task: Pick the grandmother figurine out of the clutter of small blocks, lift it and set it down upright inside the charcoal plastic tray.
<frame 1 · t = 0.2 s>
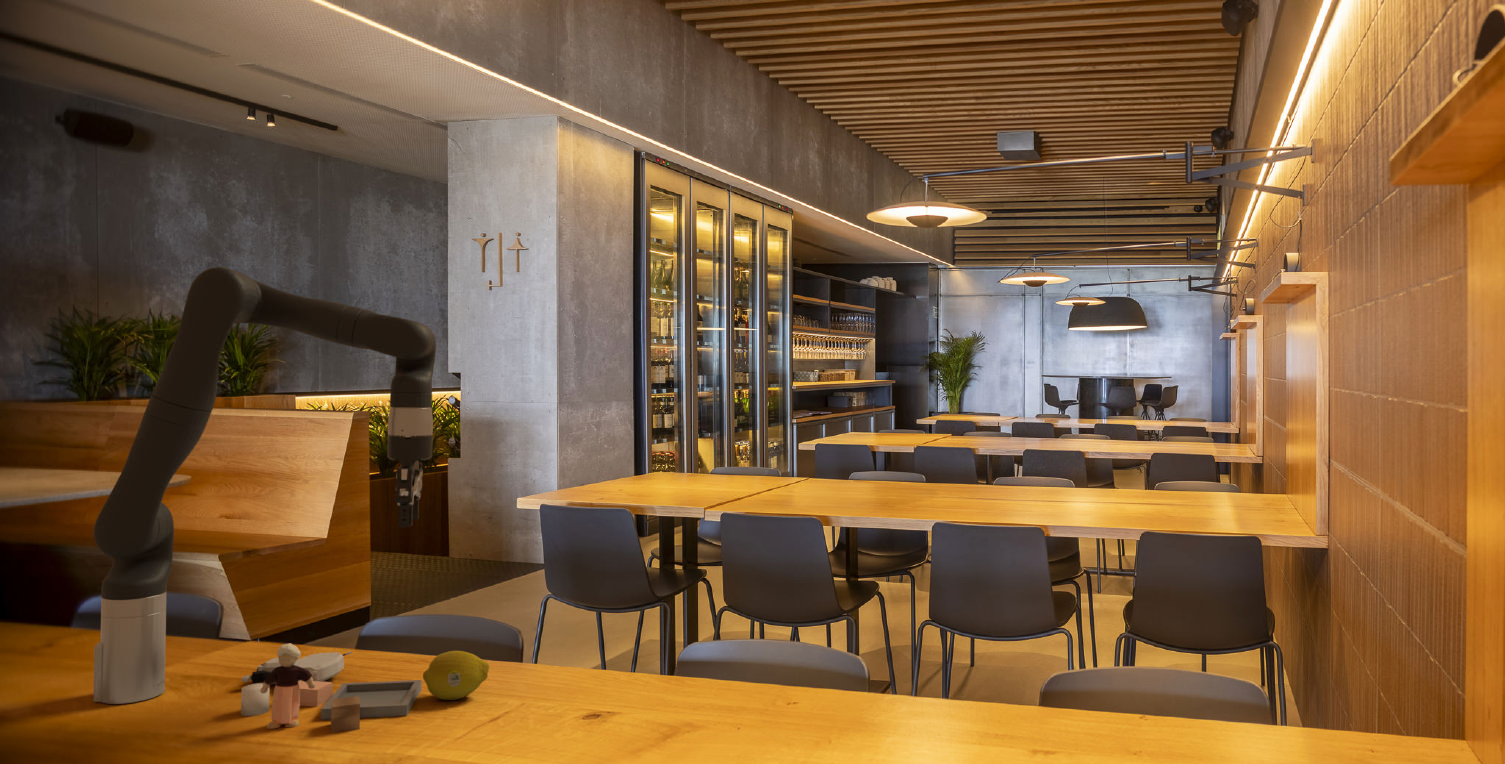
hand: (408, 523, 163), 29 cm above the table, tool pointing down, fingers open, 8 cm apart
lemon: (455, 699, 156), on the table
tray: (373, 704, 153), on the table
terracotta block: (308, 702, 154), on the table
grandmother figurine: (287, 726, 143), on the table
walnut cube: (345, 727, 142), on the table
white rounded cylinder block: (255, 712, 148), on the table
robot toy: (297, 684, 164), on the table
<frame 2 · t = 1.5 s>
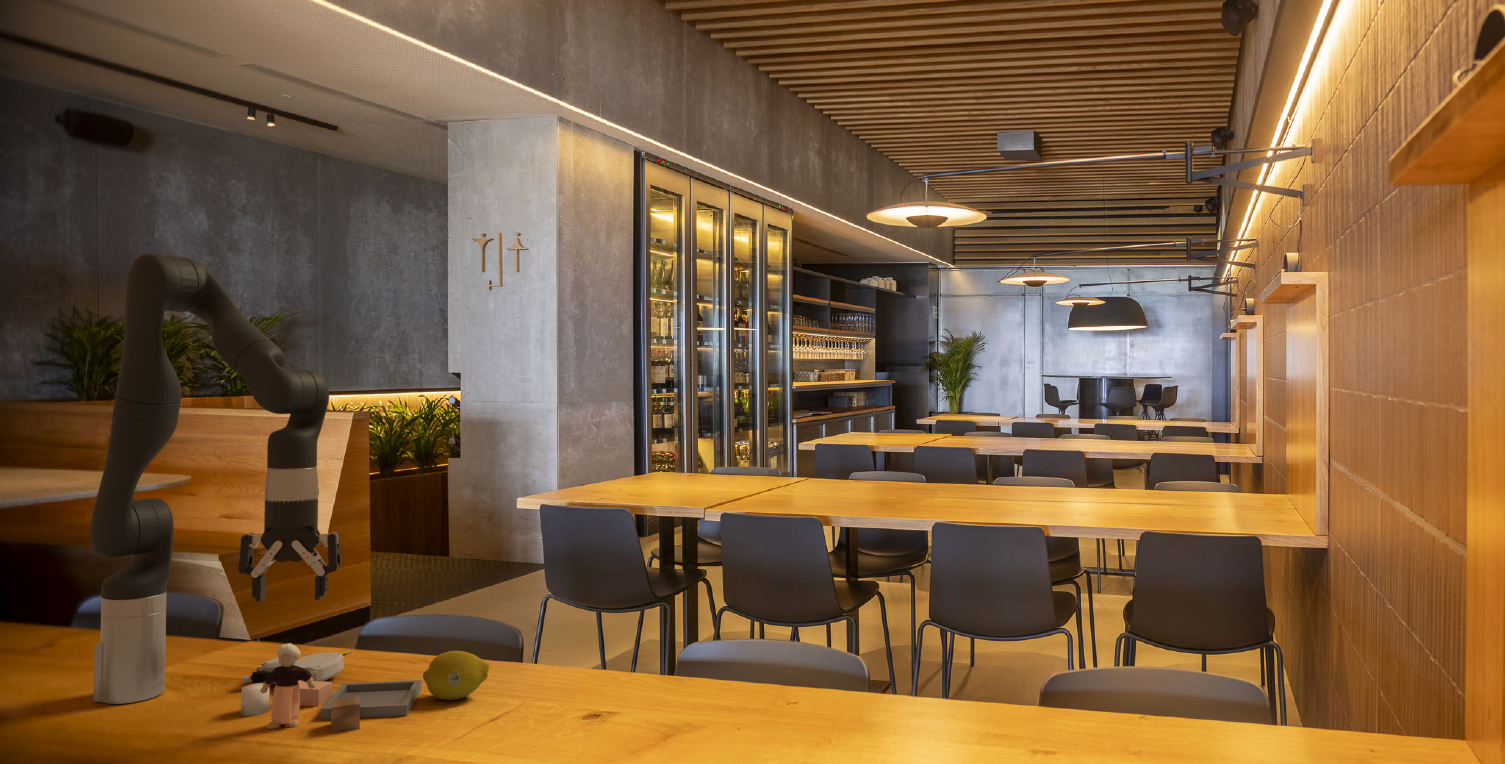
hand: (290, 599, 143), 19 cm above the table, tool pointing down, fingers open, 8 cm apart
nothing on the table moved.
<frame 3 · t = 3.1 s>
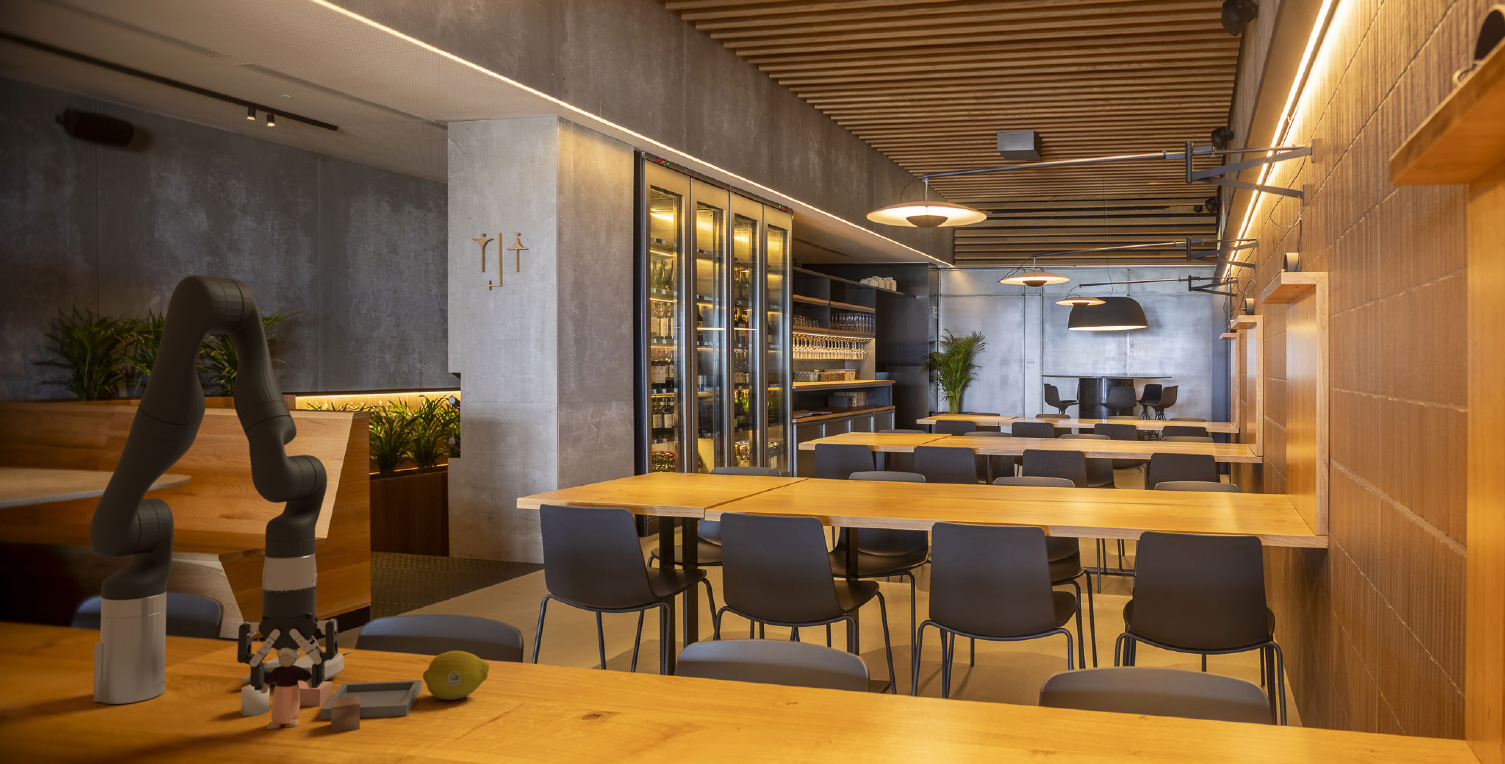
hand: (287, 687, 143), 6 cm above the table, tool pointing down, fingers closed on grandmother figurine, 8 cm apart
grandmother figurine: (287, 726, 143), on the table, touching gripper
everything else where it was.
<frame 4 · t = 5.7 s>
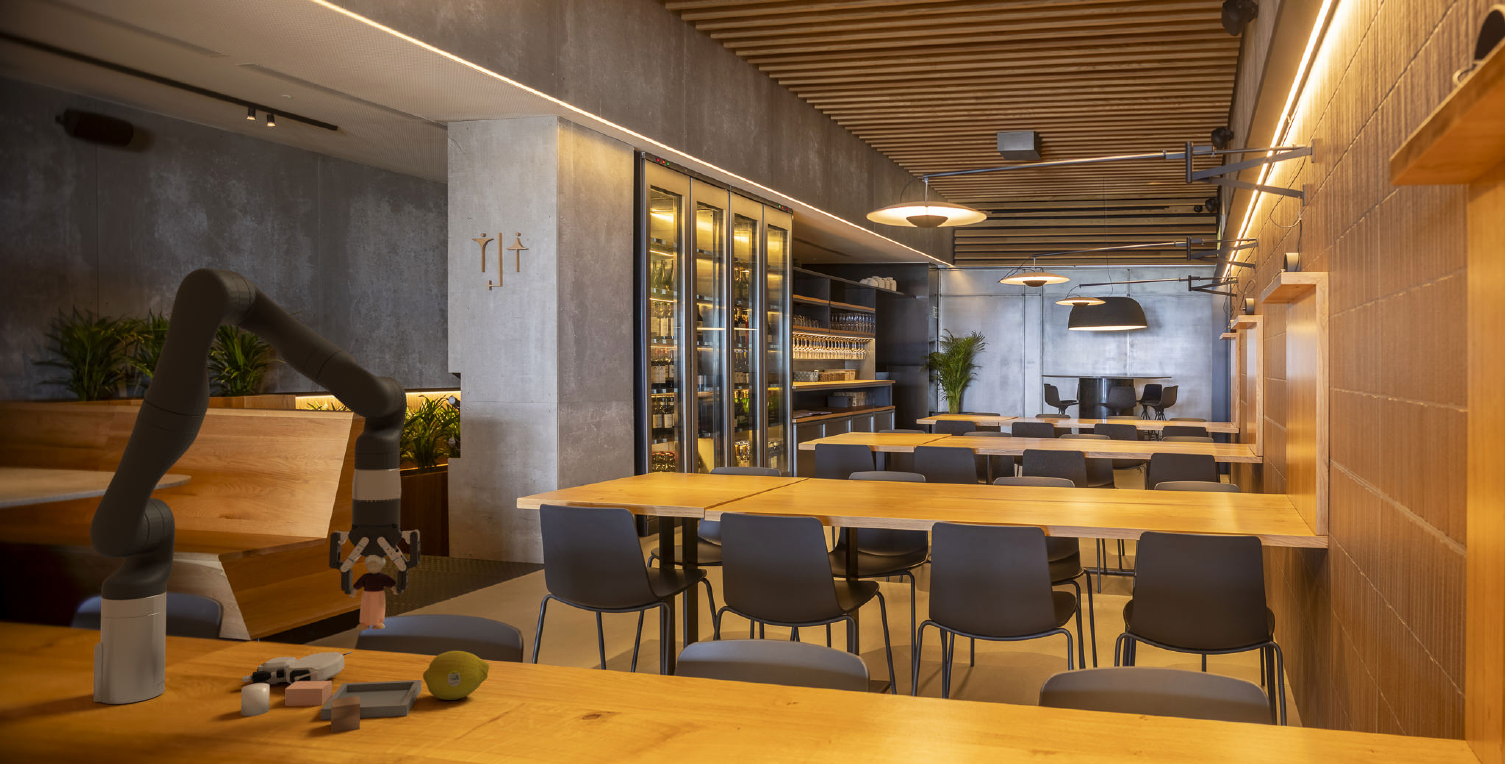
hand: (374, 593, 153), 19 cm above the table, tool pointing down, fingers closed on grandmother figurine, 8 cm apart
grandmother figurine: (374, 629, 153), point 13 cm above the table, touching gripper
everything else where it was.
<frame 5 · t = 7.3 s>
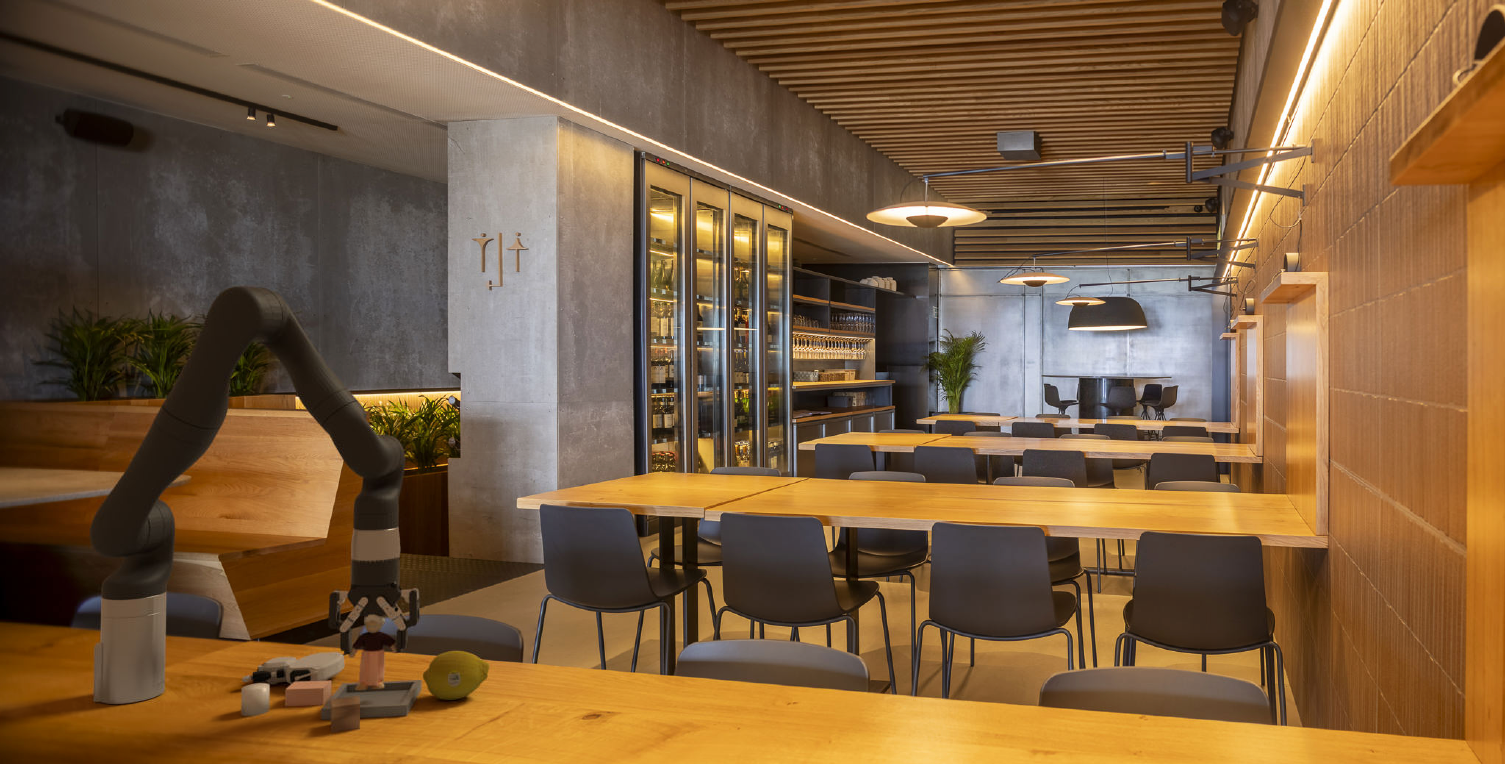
hand: (374, 652, 153), 9 cm above the table, tool pointing down, fingers closed on grandmother figurine, 8 cm apart
grandmother figurine: (373, 688, 153), point 3 cm above the table, touching gripper
everything else where it was.
when the fingers open (6 cm above the table, at t = 8.6 s): grandmother figurine stays where it is, resting on tray.
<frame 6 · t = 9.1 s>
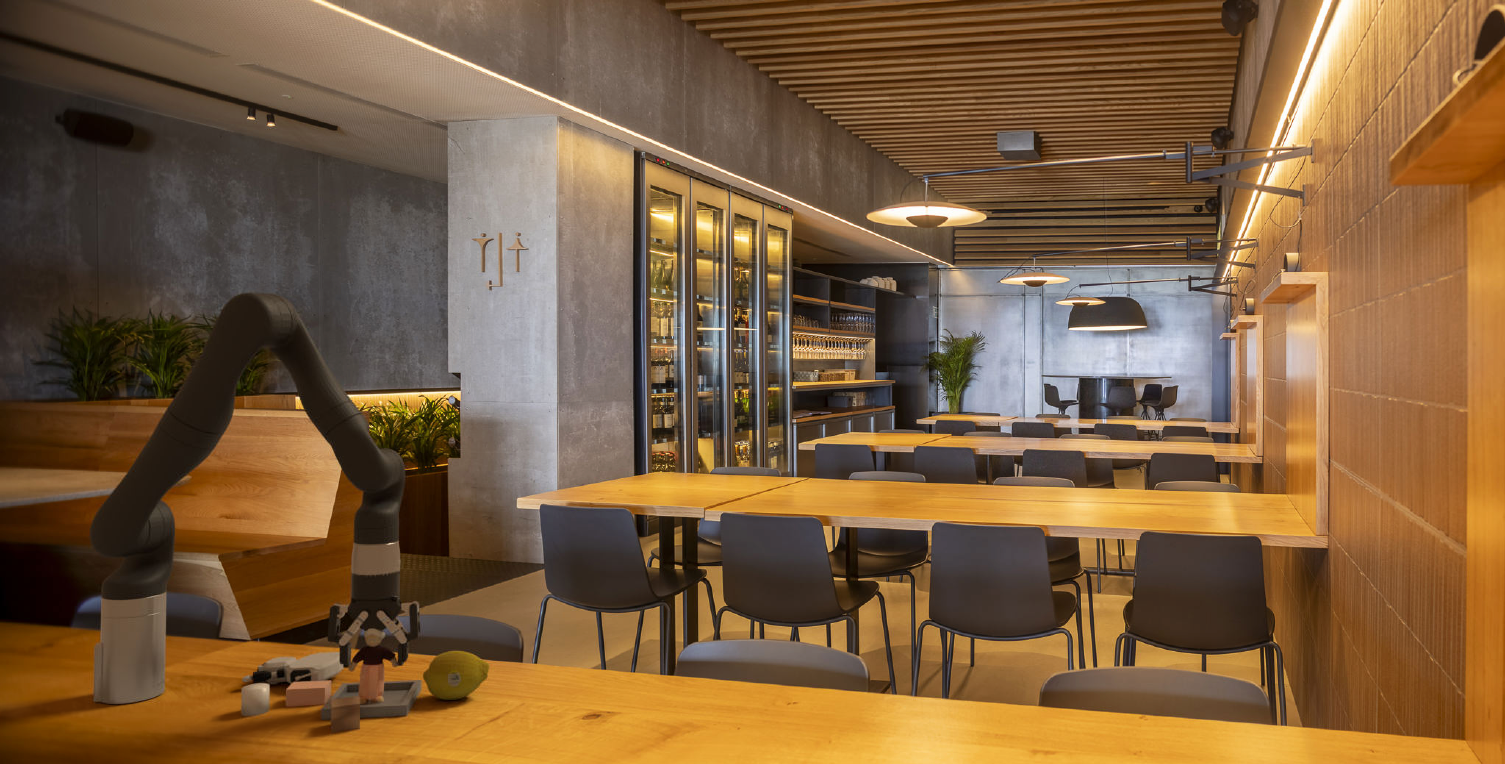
hand: (374, 665, 153), 6 cm above the table, tool pointing down, fingers open, 8 cm apart
grandmother figurine: (373, 702, 153), resting on tray
everything else where it was.
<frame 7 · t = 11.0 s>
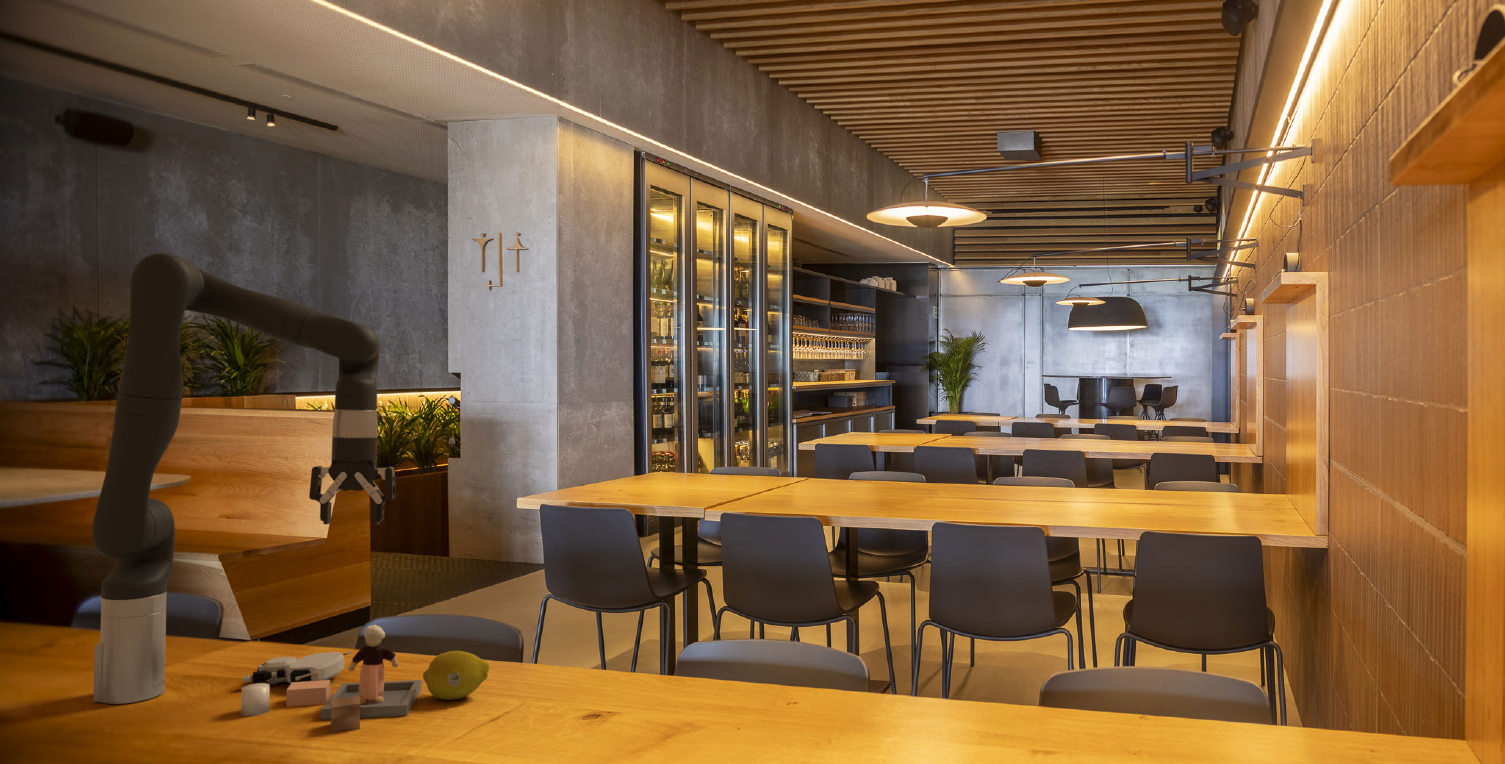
hand: (352, 524, 166), 28 cm above the table, tool pointing down, fingers open, 8 cm apart
nothing on the table moved.
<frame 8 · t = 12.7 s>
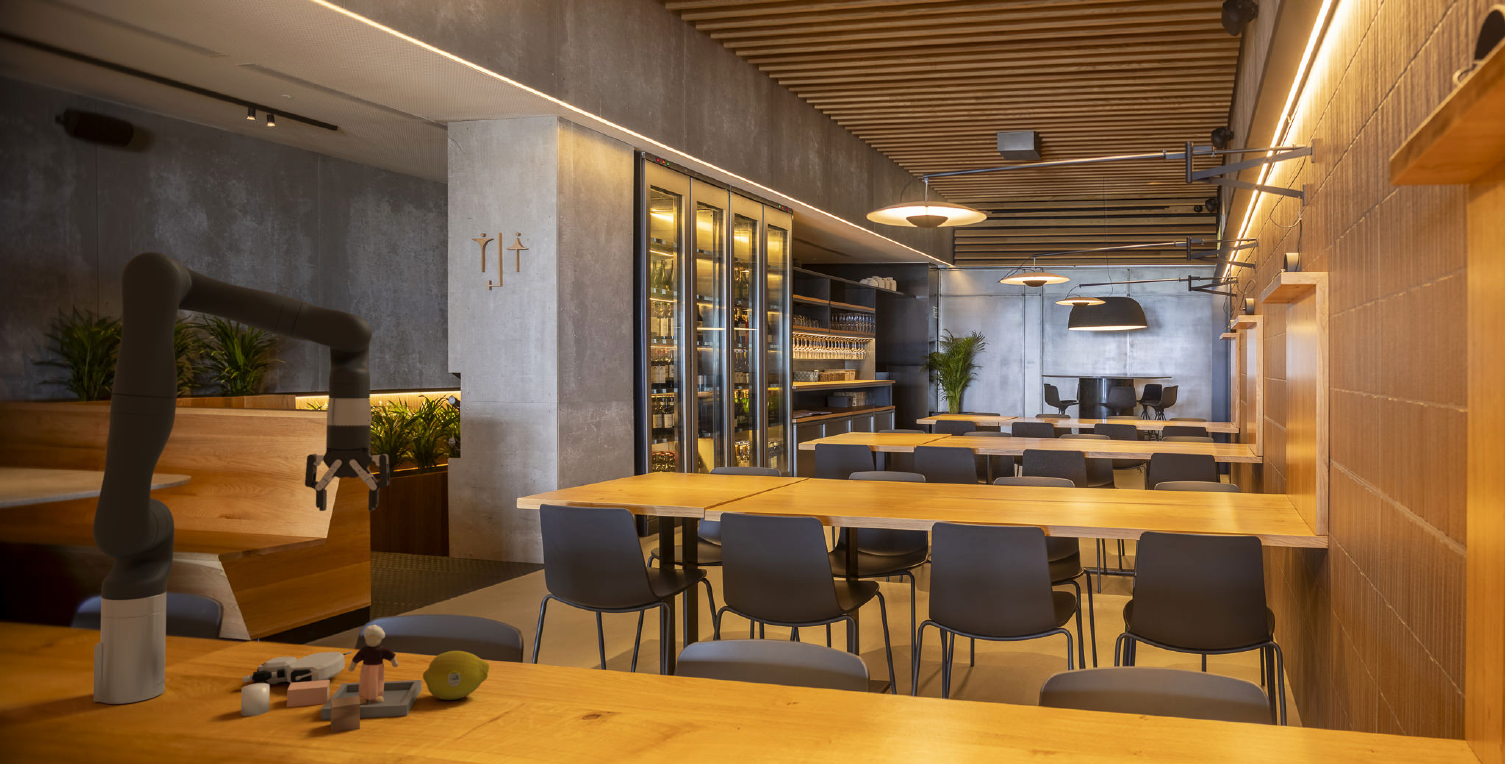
hand: (347, 510, 169), 30 cm above the table, tool pointing down, fingers open, 8 cm apart
nothing on the table moved.
at the end: grandmother figurine inside the target area on the tray (0.1 cm from its centre), point 0.3 cm above the tray's base; grandmother figurine tilted 0°; the gripper is holding nothing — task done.
